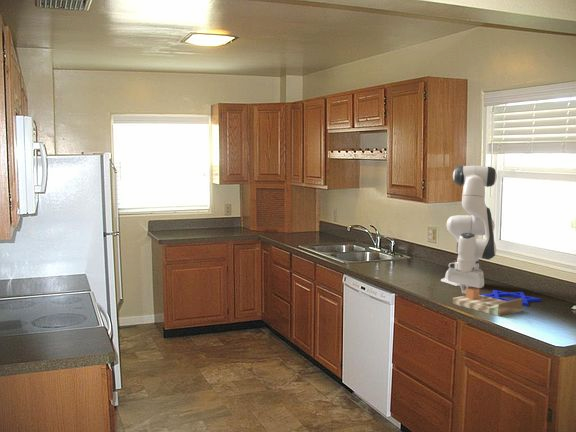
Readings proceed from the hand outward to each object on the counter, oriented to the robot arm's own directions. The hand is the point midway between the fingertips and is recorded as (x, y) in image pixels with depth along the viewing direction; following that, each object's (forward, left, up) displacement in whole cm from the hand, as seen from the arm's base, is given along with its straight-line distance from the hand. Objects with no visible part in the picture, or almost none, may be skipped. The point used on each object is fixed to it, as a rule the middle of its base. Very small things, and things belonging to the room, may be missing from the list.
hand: (464, 293), depth 309 cm
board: (+12, 0, -4) cm, 13 cm away
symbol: (+9, +25, -5) cm, 27 cm away
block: (+4, 0, -1) cm, 5 cm away
